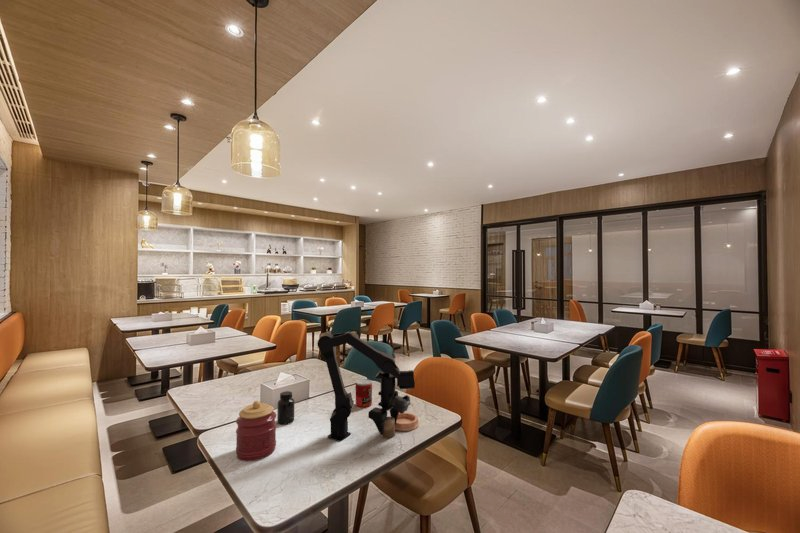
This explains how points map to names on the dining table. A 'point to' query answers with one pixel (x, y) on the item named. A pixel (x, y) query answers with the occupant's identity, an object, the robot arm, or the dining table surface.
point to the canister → (256, 432)
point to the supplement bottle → (285, 408)
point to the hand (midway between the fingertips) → (388, 429)
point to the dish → (406, 422)
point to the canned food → (363, 393)
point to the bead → (389, 428)
